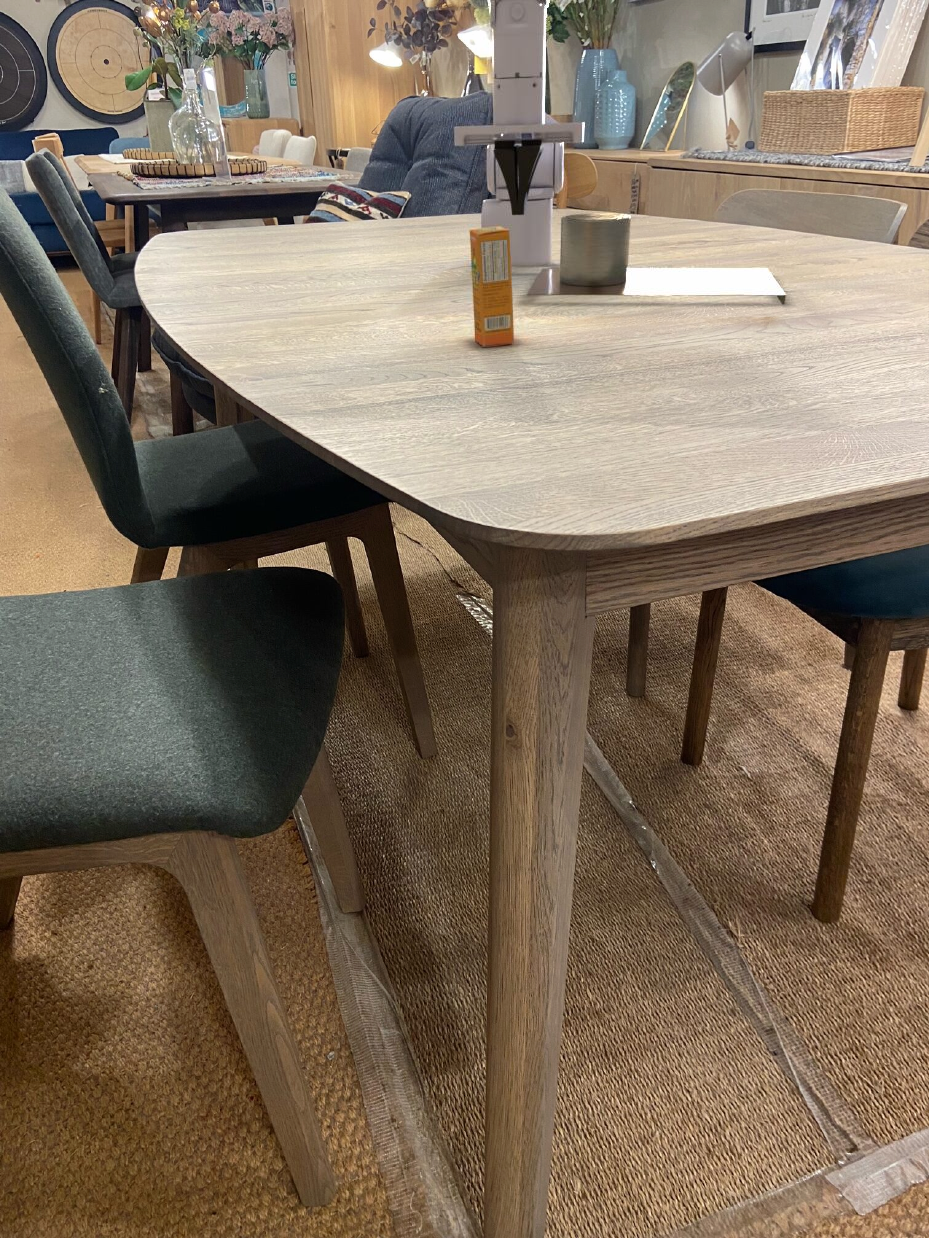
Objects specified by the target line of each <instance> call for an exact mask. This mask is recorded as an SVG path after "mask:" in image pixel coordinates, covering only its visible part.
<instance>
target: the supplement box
mask: <svg viewBox="0 0 929 1238" xmlns="http://www.w3.org/2000/svg"><path fill="white" fill-rule="evenodd" d="M509 231H510V230H509V229H504V228H502V227H501V226H497V227H487V228H481V227H479V228H474V229H469V241H470V243H469V244H470V266H471V286H472V305H473V327H474V341H475V342H476V343H477V344H479V345H481V346H482V347H484V348H487V347H488V348H489V347H498V346H505V345H513V344H514V343H515V342H514V341H515V330H514V303H513V301H514V300H513V299H514V298H513V280H512V279H513V275H512V274H513V273H512V266H511V251H510V233H509Z"/></svg>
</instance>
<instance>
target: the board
mask: <svg viewBox="0 0 929 1238" xmlns="http://www.w3.org/2000/svg"><path fill="white" fill-rule="evenodd" d="M526 296H776V297H777V299H778V301H779V302H780V303H781V305H785V303H786V296H787V295H786V293H785V292H784V290H783V289H782V288H781V286H780V285H779V283H778V282H777V281H776V279H775V278H774V277H773V275H772V273H771V272H770V271H769V269H768V268H767V267H714V268H713V267H705V268H704V267H702V268H701V267H700V268H699V267H697V268H696V267H695V268H694V267H692V268H691V267H690V268H689V267H688V268H687V267H681V268H680V267H679V268H677V267H676V268H667V267H665V268H663V267H662V268H658V267H657V268H653V267H652V268H651V267H650V268H647V267H646V268H645V267H643V268H628V274H627V281H626V282H624V283H622V284H617V285H610V286H573V285H567V284H563V283H561V282H560V268H542V269H541V271H540V273H539V274H538V275H537V277H536V279H535V281H534V282H533V283H532V285H531V287H530V289H528V291H527V293H526Z"/></svg>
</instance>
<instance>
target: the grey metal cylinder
mask: <svg viewBox="0 0 929 1238" xmlns="http://www.w3.org/2000/svg"><path fill="white" fill-rule="evenodd" d="M631 218H632V217H631V215H629V214H624V213H611V212H610V213H609V212H608V213H607V212H606V213H605V212H599V213H598V212H597V213H594V212H593V213H591V212H590V213H577V214H569V215H564V216H562V217H561V218H560V220H561V221H560V257H559V259H560V260H559V269H560V282H561V283H563V284H567V285H573V286H610V285H617V284H622V283H624V282H626V281H627V274H628V269H629V258H630V257H629V256H630V240H631V238H630V236H631V223H632V222H631V221H632V219H631Z"/></svg>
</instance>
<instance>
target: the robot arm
mask: <svg viewBox="0 0 929 1238" xmlns="http://www.w3.org/2000/svg"><path fill="white" fill-rule="evenodd" d="M487 2H488V6H489V7H488V8H489V23H490V24H489V25H490V29H491V31H492V111H493V116H492V118H493V119H492V121H493V123H492V124H489V125H488V124H487V125H485V124H484V125H461V126H460V125H458V126H454V127H453V137H454V142H453V143H454V147H464V146H487V148H486V183H487V190H488V191H489V192H490V194H491V195H493V196H495V198H489V199H488V198H487V199H484V200H483V201H482V205H481V216H480V217H481V218H480V220H481V221H480V228H487V227H497V226H501V227H502V228H504V229H509V230H510V231H509V233H510V251H511V267H537V266H544V265H549V264H551V263H552V261H553V260H552V259H553V258H552V257H553V256H552V255H553V251H552V250H553V207H554V205H553V204H554V201H553V200H554V196H555V194H559V193H560V191H562V189H563V188H564V187H563V186H564V153H565V152H564V151H565V150H564V149H565V147H564V146H565V145H564V143H573V144H574V143H575V144H577V143H583V142H584V141H585V122H583V121H582V122H558V121H556V120H555V118H553V117H551V116H550V115H549V114H548V113H547V112H546V111H545V103H546V102H545V101H546V100H545V99H546V98H545V97H546V29H547V28H546V27H547V26H546V24H547V21H546V20H547V19H546V18H547V8H549V3H550V0H487Z"/></svg>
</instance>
